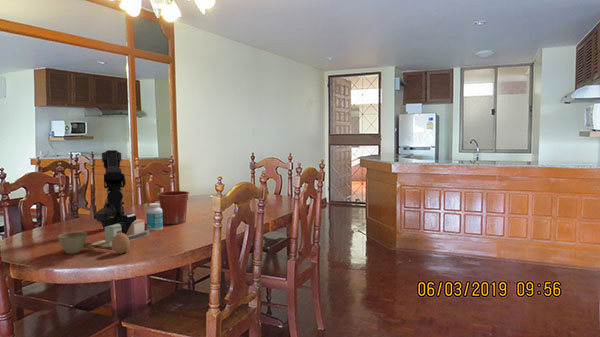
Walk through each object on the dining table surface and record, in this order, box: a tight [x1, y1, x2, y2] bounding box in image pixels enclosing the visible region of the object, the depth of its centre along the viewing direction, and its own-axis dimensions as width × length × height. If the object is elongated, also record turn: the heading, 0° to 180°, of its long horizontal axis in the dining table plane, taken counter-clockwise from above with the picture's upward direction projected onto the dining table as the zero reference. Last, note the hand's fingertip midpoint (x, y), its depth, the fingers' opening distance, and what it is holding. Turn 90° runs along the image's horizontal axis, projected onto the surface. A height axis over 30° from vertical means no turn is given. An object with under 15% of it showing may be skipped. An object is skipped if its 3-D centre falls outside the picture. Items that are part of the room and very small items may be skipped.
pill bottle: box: [145, 202, 164, 231], centre depth 196 cm, size 8×7×14 cm
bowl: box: [58, 231, 88, 255], centre depth 160 cm, size 10×10×7 cm
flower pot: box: [156, 190, 190, 225], centre depth 216 cm, size 16×16×16 cm
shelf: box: [89, 229, 151, 251], centre depth 175 cm, size 12×22×3 cm, turn 157°
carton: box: [126, 218, 146, 236], centre depth 181 cm, size 5×7×7 cm
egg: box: [111, 233, 131, 255], centre depth 158 cm, size 6×6×8 cm
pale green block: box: [104, 224, 122, 244], centre depth 171 cm, size 5×7×7 cm
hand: (115, 236), depth 171 cm, fingers open, 9 cm apart
